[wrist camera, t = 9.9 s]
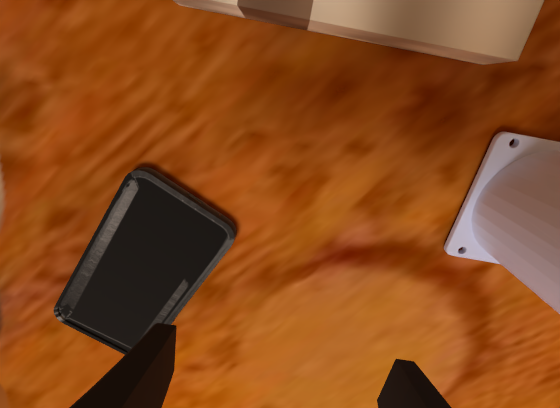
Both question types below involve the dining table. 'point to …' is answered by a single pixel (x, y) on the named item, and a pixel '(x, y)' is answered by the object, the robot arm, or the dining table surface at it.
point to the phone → (143, 261)
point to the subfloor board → (403, 23)
